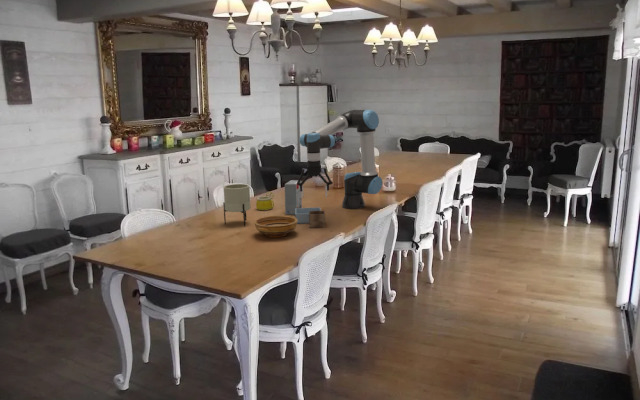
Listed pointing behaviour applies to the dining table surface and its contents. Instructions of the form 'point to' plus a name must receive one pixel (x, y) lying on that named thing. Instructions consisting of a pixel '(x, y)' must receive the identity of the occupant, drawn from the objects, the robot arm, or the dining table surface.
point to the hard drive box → (292, 197)
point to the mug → (265, 202)
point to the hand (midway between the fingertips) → (314, 196)
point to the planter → (237, 199)
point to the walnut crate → (317, 219)
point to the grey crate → (304, 214)
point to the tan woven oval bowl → (275, 225)
